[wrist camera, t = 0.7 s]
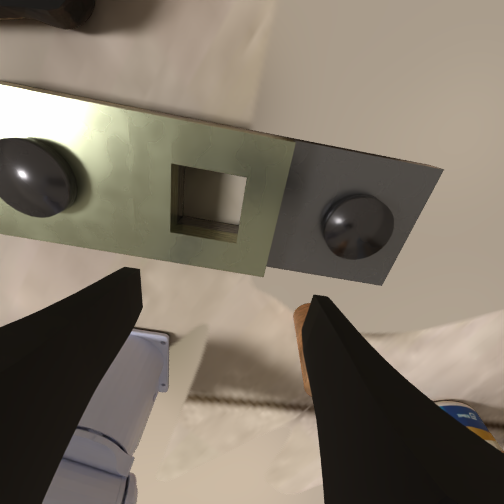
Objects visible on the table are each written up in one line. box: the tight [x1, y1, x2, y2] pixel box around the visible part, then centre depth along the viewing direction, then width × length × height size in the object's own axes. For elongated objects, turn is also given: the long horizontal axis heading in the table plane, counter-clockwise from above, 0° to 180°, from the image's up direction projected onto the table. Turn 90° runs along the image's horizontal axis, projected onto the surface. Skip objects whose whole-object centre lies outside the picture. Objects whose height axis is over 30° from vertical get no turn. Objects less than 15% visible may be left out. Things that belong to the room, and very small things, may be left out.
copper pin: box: [293, 303, 312, 397], centre depth 20 cm, size 3×3×7 cm
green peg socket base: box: [0, 81, 443, 286], centre depth 16 cm, size 9×28×4 cm, turn 80°
